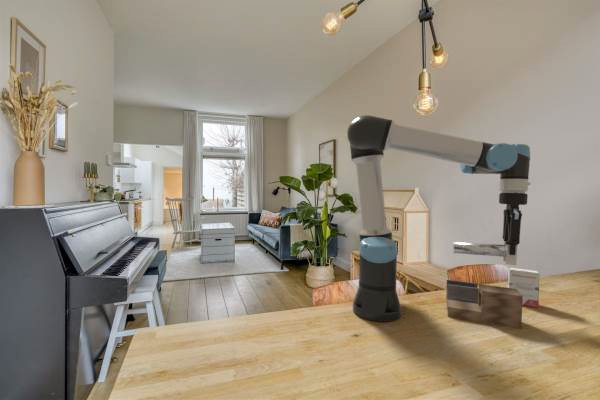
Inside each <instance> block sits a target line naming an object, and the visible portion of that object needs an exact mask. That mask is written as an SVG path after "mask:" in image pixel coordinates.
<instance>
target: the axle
mask: <svg viewBox="0 0 600 400" xmlns="http://www.w3.org/2000/svg"><path fill="white" fill-rule="evenodd" d="M506 248H507V245H504V244H498V243H497V244H496V243H480V242H478V243H477V242H463V241H453V249H452V250H453V254H459V255H460V254H462V255H474V256H487V257H502V258H503V257H506Z"/></svg>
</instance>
